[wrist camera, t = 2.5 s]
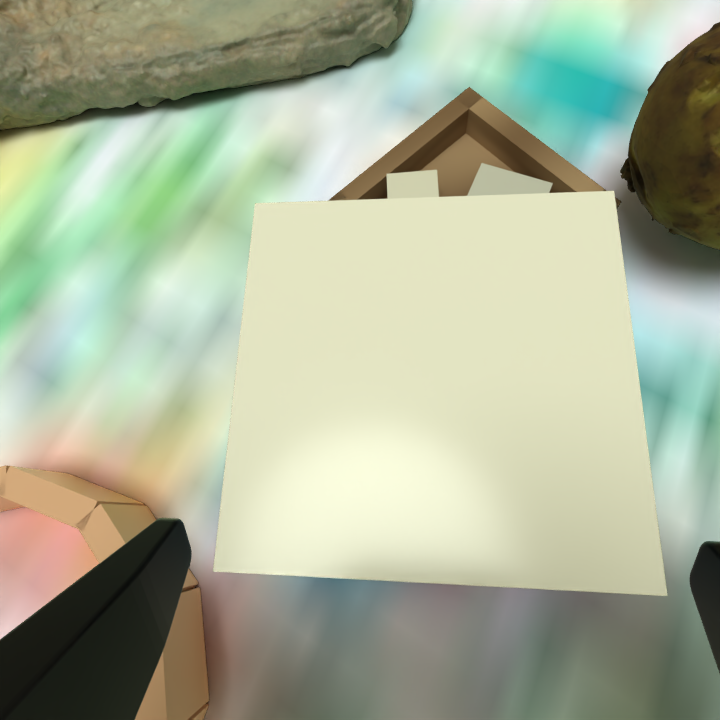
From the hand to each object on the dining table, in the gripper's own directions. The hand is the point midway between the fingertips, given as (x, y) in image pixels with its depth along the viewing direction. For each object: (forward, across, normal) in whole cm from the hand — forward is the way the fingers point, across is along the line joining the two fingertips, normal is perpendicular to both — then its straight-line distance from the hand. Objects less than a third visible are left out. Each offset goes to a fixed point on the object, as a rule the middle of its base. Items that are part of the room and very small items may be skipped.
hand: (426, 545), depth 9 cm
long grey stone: (+24, +18, -9) cm, 31 cm away
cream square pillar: (+8, 0, +5) cm, 10 cm away
